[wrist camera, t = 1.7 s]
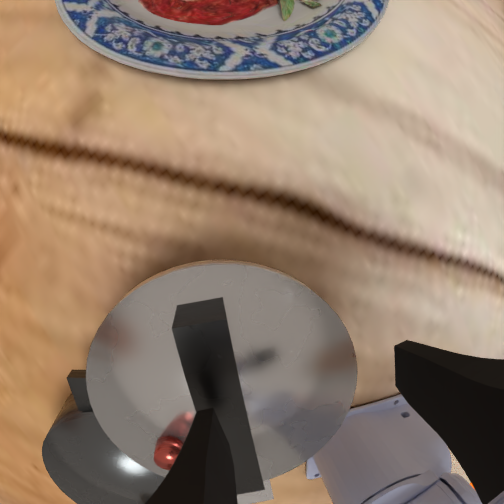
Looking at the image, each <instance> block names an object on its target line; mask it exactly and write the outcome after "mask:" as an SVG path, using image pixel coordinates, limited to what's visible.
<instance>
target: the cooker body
mask: <svg viewBox="0 0 504 504" xmlns="http://www.w3.org/2000/svg"><path fill="white" fill-rule="evenodd" d="M67 380H68V383H69V386H70V388H71V391H72V394H71V395H70V396H69V397H68V399H67V401H66V402H65V404H64V406H63V408H62V409H61V411H60V413H59V415H58V416H57V418H56V420H55V422H54V423H53V425H52V427H51V429H50V430H49V432H48V434H47V436H46V438H45V440H44V442H43V447H42V456H43V461H44V464H45V467H46V469H47V471H48V473H49V475H50V477H51V478H52V479H53V481H54V482H55V484H56V485H57V486H58V487H59V488H60V489H61V490H62V491H63V492H64V493H65V494H66V495H67V496H68V497H69V498H71V499H72V500H73V501H74V502H76V503H77V504H145V503H146V502H147V501H148V499H149V498H150V497H151V496H152V495H153V493H154V492H155V491H156V490H157V488H158V487H159V485H160V484H161V483H162V481H163V480H164V478H165V477H163V476H160V475H158V474H156V473H154V472H152V471H150V470H148V469H146V468H144V467H143V466H141V465H139V464H138V463H136V462H135V461H133V460H132V459H131V458H129V457H128V456H127V455H126V454H124V453H123V452H122V451H121V450H120V449H119V448H118V447H117V446H116V445H115V444H114V443H113V442H112V441H111V440H110V438H109V437H108V436H107V434H106V433H105V432H104V430H103V429H102V427H101V426H100V424H99V422H98V420H97V418H96V417H95V414H94V412H93V409H92V407H91V404H90V400H89V396H88V392H87V384H86V370H72V371H71V372H70V374H69V375H68V377H67Z"/></svg>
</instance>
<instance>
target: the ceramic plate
mask: <svg viewBox="0 0 504 504" xmlns="http://www.w3.org/2000/svg"><path fill="white" fill-rule="evenodd" d="M388 1H389V0H55V3H56V6H57V9H58V12H59V14H60V16H61V18H62V20H63V22H64V23H65V24H66V26H67V27H68V28H69V30H70V31H71V32H72V33H73V34H74V35H75V36H76V37H77V38H78V39H79V40H80V41H82V42H83V43H84V44H86V45H87V46H89V47H90V48H91V49H93V50H95V51H96V52H98V53H100V54H102V55H104V56H105V57H107V58H110V59H112V60H114V61H117V62H119V63H121V64H124V65H128V66H131V67H134V68H138V69H141V70H144V71H147V72H152V73H158V74H164V75H170V76H175V77H182V78H193V79H211V80H234V79H252V78H263V77H270V76H276V75H282V74H288V73H292V72H296V71H300V70H305V69H308V68H311V67H314V66H317V65H320V64H323V63H325V62H327V61H330V60H332V59H334V58H337V57H339V56H340V55H342V54H344V53H346V52H348V51H350V50H351V49H353V48H354V47H356V46H357V45H358V44H360V43H361V42H362V41H364V40H365V39H366V38H367V37H368V36H369V35H370V34H371V33H372V32H373V30H374V29H375V28H376V26H377V25H378V24H379V23H380V21H381V19H382V18H383V16H384V14H385V11H386V8H387V6H388Z"/></svg>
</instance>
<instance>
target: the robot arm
mask: <svg viewBox="0 0 504 504" xmlns="http://www.w3.org/2000/svg"><path fill="white" fill-rule="evenodd" d="M394 351H395V381H396V387H397V388H398V390H399V391H400V393H401V394H400V395H397V396H394V397H391V398H388V399H384V400H381V401H377V402H374V403H370V404H367V405H363V406H359V407H356V408H352V409H349V412H348V414H347V416H346V417H345V419H344V421H343V423H342V425H341V426H340V428H339V429H338V430H337V432H336V433H335V435H334V436H333V437H332V438H331V439H330V440H329V442H328V443H327V444H326V445H325V446H324V447H323V448H322V449H321V450H319V451H318V452H317V453H316V454H315V455H314V456H312V457H311V458H310V459H308V460H307V461H306V477H307V479H315V478H319V477H322V479H323V482H324V484H325V486H326V488H327V491H328V493H329V495H330V497H331V499H332V502H333V504H504V360H501V359H488V358H479V357H473V356H468V355H462V354H458V353H454V352H449V351H446V350H442V349H438V348H435V347H431V346H428V345H424V344H420V343H417V342H413V341H408V340H406V341H404V342H402V343H400V344H397V345H395V346H394ZM447 446H448V447H447ZM448 448H449V449H450V450H451V452H452V453H453V455H454V456H455V457H456V459H457V460H458V462H459V463H460V465H461V467H462V468H463V470H464V471H465V473H466V475H467V476H468V478H469V480H470V481H471V483H472V485H473V487H474V488H475V489H474V488H473V487H472V486H471V485H470V484H469V483H468V482H467V481H466V480H465V479H464V478H463V477H462V476H460V475H459V474H456V473H451V466H452V462H451V456H450V452H449V449H448ZM475 490H476V491H475ZM145 504H238V502H237V492H236V481H235V470H234V463H233V458H232V454H231V449H230V445H229V442H228V440H227V438H226V436H225V433H224V431H223V429H222V427H221V424H220V422H219V420H218V417H217V415H216V413H215V410H214V408H208V409H204V410H200V411H197V412H196V414H195V416H194V419H193V422H192V424H191V427H190V430H189V432H188V434H187V437H186V439H185V441H184V443H183V446H182V448H181V450H180V452H179V454H178V456H177V458H176V460H175V461H174V463H173V465H172V467H171V469H170V470H169V472H168V474H167V475H166V477H165V478H164V480H163V481H162V483H161V484H160V485H159V487H158V488H157V490H156V491H155V492H154V493H153V495H152V496H151V497H150V498H149V499H148V501H147V502H146V503H145Z"/></svg>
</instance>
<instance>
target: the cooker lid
mask: <svg viewBox="0 0 504 504" xmlns="http://www.w3.org/2000/svg"><path fill="white" fill-rule="evenodd" d="M356 383H357V362H356V355H355V351H354V347H353V343H352V341H351V338H350V336H349V334H348V331H347V329H346V327H345V326H344V324H343V323H342V321H341V320H340V318H339V317H338V315H337V314H336V313H335V312H334V311H333V309H332V308H331V307H330V306H329V305H328V304H327V303H326V302H325V301H324V300H323V299H322V298H321V297H319V296H318V295H317V294H316V293H315V292H313V291H312V290H311V289H310V288H309V287H307V286H306V285H305V284H303V283H302V282H300V281H298V280H297V279H295V278H293V277H292V276H290V275H288V274H286V273H283V272H281V271H279V270H276V269H274V268H271V267H268V266H264V265H261V264H257V263H253V262H246V261H239V260H205V261H197V262H191V263H187V264H183V265H179V266H175V267H172V268H170V269H167V270H165V271H162V272H160V273H157V274H155V275H153V276H152V277H150V278H148V279H146V280H145V281H143V282H141V283H140V284H138V285H137V286H136V287H134V288H133V289H132V290H131V291H129V292H128V293H127V294H126V295H125V296H124V297H123V298H122V299H121V300H120V301H119V302H118V303H117V304H116V305H115V306H114V308H113V309H112V310H111V311H110V313H109V314H108V315H107V317H106V318H105V320H104V321H103V323H102V324H101V326H100V327H99V329H98V330H97V333H96V335H95V337H94V339H93V341H92V344H91V347H90V351H89V355H88V358H87V367H86V384H87V392H88V396H89V400H90V404H91V407H92V409H93V412H94V414H95V417H96V418H97V420H98V422H99V424H100V426H101V427H102V429H103V430H104V432H105V433H106V434H107V436H108V437H109V438H110V440H111V441H112V442H113V443H114V444H115V445H116V446H117V447H118V448H119V449H120V450H121V451H122V452H123V453H124V454H126V455H127V456H128V457H129V458H131V459H132V460H133V461H135V462H136V463H138V464H139V465H141V466H143V467H144V468H146V469H148V470H150V471H152V472H154V473H156V474H158V475H160V476H163V477H166V475H167V474H168V472H169V470H170V469H171V467H172V465H173V463H174V461H175V460H176V458H177V456H178V454H179V452H180V450H181V448H182V446H183V443H184V441H185V439H186V437H187V434H188V432H189V430H190V427H191V424H192V422H193V419H194V416H195V414H196V412H197V411H200V410H204V409H208V408H214V410H215V413H216V415H217V417H218V420H219V422H220V424H221V427H222V429H223V431H224V433H225V436H226V438H227V440H228V442H229V445H230V449H231V454H232V458H233V463H234V470H235V481H236V492H237V502H238V504H251V503H256V502H262V501H267V500H272V499H274V497H273V493H272V489H271V484H270V480H269V479H271V478H274V477H277V476H279V475H282V474H284V473H286V472H288V471H290V470H292V469H294V468H296V467H297V466H299V465H301V464H302V463H304V462H305V461H307V460H308V459H310V458H311V457H312V456H314V455H315V454H316V453H317V452H318V451H319V450H321V449H322V448H323V447H324V446H325V445H326V444H327V443H328V442H329V440H330V439H331V438H332V437H333V436H334V435H335V433H336V432H337V430H338V429H339V428H340V426H341V425H342V423H343V421H344V419H345V417H346V416H347V414H348V412H349V409H350V407H351V404H352V401H353V398H354V394H355V389H356Z"/></svg>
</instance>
